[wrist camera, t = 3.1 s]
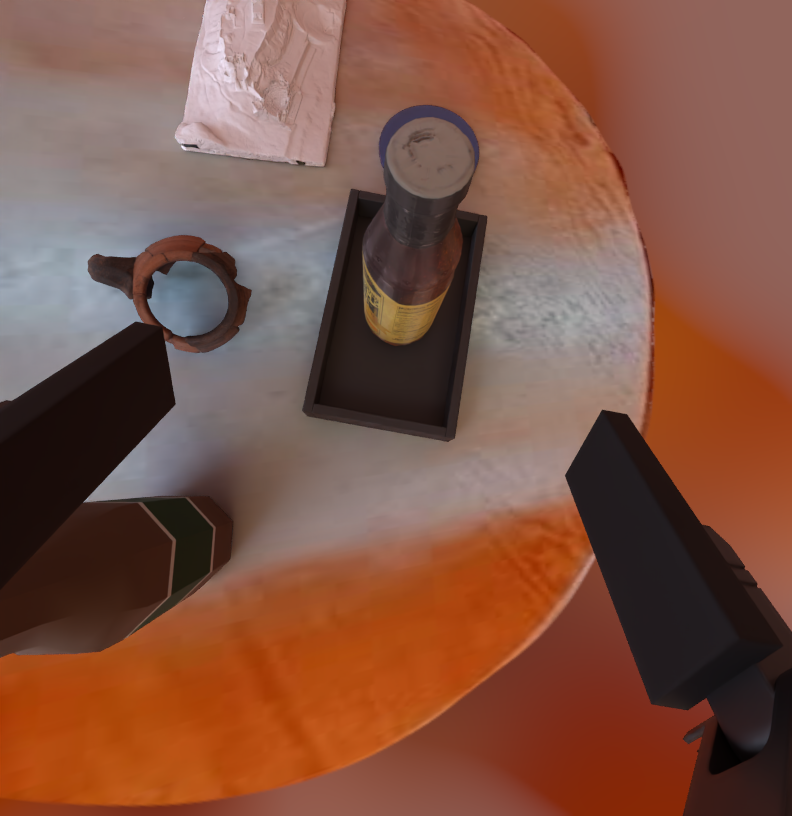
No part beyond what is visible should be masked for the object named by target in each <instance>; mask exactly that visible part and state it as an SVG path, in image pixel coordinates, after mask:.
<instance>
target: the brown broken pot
mask: <svg viewBox="0 0 792 816" xmlns="http://www.w3.org/2000/svg"><path fill="white" fill-rule="evenodd" d="M176 261H190V262H196V263H199V264H202V265H204V266H206V267H207V268H209V269H210V270H212V271H213V272H214V273H215V274H216V275H217V276H218V277H219V278H220V280H221V281H222V283H223V284H224V286H225V288H226V291H227V294H228V310H227V313H226V315H225V317H224V319H223V320H222V322H221V323H220V324H219V325H218V326H217V327H216V328H215V329H213V330H212V331H210V332H208V333H205V334H202V335H197V336H187V337H181V336H178V335H175V334H173V333H172V331H171V330H169V329H167V328H166V327H164V326H163V325H162V324H161V323H160V322H159V321H158V320H157V319H156V318H155V317H154V315H153V314H152V312H151V310H150V308H149V305H148V302H147V299H150V298H151V297H152V289H153V286H154V281H153V278H152V275H153V274H154V272H155V271H159V272H161V273H163V274H165V275H167V273H168V272H169V270H170V268H171V267H172V266H173V264H174V263H175V262H176ZM88 272H89V274H90V275H91V277H92V279H93V280H95V281H97V282H100V283H103V284H106V285H109V286H112V287H115V288H118V289H120V290H121V291H123V292H124V293H125V294H126V296H127V297H128V298H129V299H134V300H133V302H134V305H135V307H136V309H137V312H138V314H139V316H140V318H141V320H142V321H143V322H144V323H146V324H151V325H156V326H162V327H163V333H164V339H165V341H167V342H169V343H172V344H173V345H174V347H175V348H176V349H178V350H182V351H186V352H194V353H200V352H202V353H204V352H209V351H211V350H214V349H216V348H218V347H220V346H221V345H223V344H225V343H226V342H228V341H229V340H230V339H232V338H233V337H234V336H235V335H236V334H237V333H238V332H239V327H238V326H239V325H241V324H243V322H244V320H245V316H246V311H247V305H248V302H249V298H250V297H251V292H252V290H250V289H248V288H246V287H244V286H241V285H239V284H237V283H236V282H235V281H234V279H235V278H236V276H237V269H236V267H235V259H234V258H233V257H232V256H230V255H229V254H228V253H227V252H222V250H221V249H219V248H217V247H215V246H213V245H210V244H207V243H205V241H204V240H203V239H202V238H200V237H195V236H189V235H179V236H173V237H169V238H165V239H162V240H160V241H158V242H155V243H153V244H152V245H150V246H149V247H148V248H146V249H145V252H142V253H141V254H140V255H138V256H137V257H131V258H125V257H112V256H110V257H105V256H102V255H100V254H96V255H93V256H92V257H91V258H90V259H89V260H88Z"/></svg>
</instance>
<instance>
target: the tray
mask: <svg viewBox="0 0 792 816" xmlns="http://www.w3.org/2000/svg"><path fill="white" fill-rule="evenodd" d="M385 200H386V196H385V195H380V194H375V193H370V192H365V191H359V190H355V189H351V191H350V195H349V200H348V204H347V209H346V213H345V218H344V223H343V227H342V232H341V236H340V241H339V245H338V250H337V255H336V259H335V264H334V268H333V273H332V277H331V282H330V286H329V291H328V296H327V300H326V305H325V309H324V314H323V318H322V323H321V328H320V332H319V337H318V341H317V346H316V350H315V355H314V359H313V364H312V369H311V373H310V378H309V382H308V387H307V391H306V396H305V401H304V405H303V410H302V411H303V412H304V413H305V414H306V415H307V416H309V417H315V418H320V419H326V420H331V421H337V422H342V423H348V424H353V425H359V426H364V427H370V428H375V429H381V430H386V431H392V432H397V433H403V434H408V435H414V436H419V437H425V438H431V439H436V440H442V441H447V442H449V441H450V440H452V439H455V433H456V427H457V420H458V413H459V406H460V400H461V393H462V386H463V379H464V373H465V366H466V359H467V352H468V346H469V339H470V332H471V325H472V318H473V312H474V305H475V298H476V291H477V285H478V278H479V271H480V264H481V258H482V251H483V244H484V237H485V231H486V224H487V216H484V215H479V214H474V213H469V212H464V211H459V210H457V211H456V218H457V220H458V223H459V226H460V228H461V233H462V238H463V243H462V250H461V256H460V260H459V263H458V264H457V267H456V268H455V272H454V276H453V279H452V281H451V284H450V286H449V288H448V290H447V292H446V295H445V297H444V299H443V301H442V303H441V305H440V308H439V310H438V312H437V314H436V316H435V318H434V320H433V323H432V325H431V326H430V328H429V330H428V331H427V332H426V333H425V334H424V336H423V337H422V338H421V339H419V340H418V341H415V342H412V343H410V344H406V345H398V346H394V345H391V344H389V343H387V342H385V341H383V340H381V339H380V338H378V337H377V336H376V335H375V334H373V332H372V331H371V329H370V326H369V325H368V323H367V320H366V317H365V312H364V284H363V238H364V235H365V232H366V230H367V228H368V226H369V225H370V223H371V222H372V220H373V219H374V217H375V216H376V214H377V213H378V211H379V210H380V208H381V207H382V205H383V204H384V202H385Z"/></svg>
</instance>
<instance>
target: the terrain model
mask: <svg viewBox="0 0 792 816" xmlns="http://www.w3.org/2000/svg"><path fill="white" fill-rule="evenodd" d="M345 8H346V0H207V1H206V5H205V9H204V15H202V17H203V22H202V26H201V28H200V31H199V32H198V33H199V37H198V41H197V44H196V48H195V54H194V60H193V65H192V70H191V78H190V84H189V90H188V98H187V103H186V106H185V114H184V120H183V122H182V123H180V125H179V126H178V127H177V129H176V133H175V137H174V138H176V139H177V142H178V143H180V144H182V146H181V148H183V149H184V151H185V150H188V151H189V150H190V151H194V152H201V153H203V152H204V153H211V154H218V155H226V156H233V157H243V158H247V159H248V158H250V159H259V160H271V161H274V162H276V161H277V162H279V161H282V162H286V163H287V162H289V163H290V164H295V165H296V164H297V165H300V164H298V163H297V162H296V160H297V161H298V160H299V161H302V162H305V163H306V164H305V165H307V166H308V165H309V166H320V167H324V165H325V163H326V158H327V151H328V147H329V140H330V139H331V138H330V131H331V133H332V130H331V124H332V118H334V117H333V116H334V111H335V103H334V97H335V95H334V93H335V86H336V79H337V71H338V62H339V55H340V54H339V53H340V44H341V37H342V30H343V22H344V15H345ZM346 11H347V10H346ZM347 12H348V11H347ZM286 102H287V104H286ZM329 138H330V139H329ZM183 143H184V144H196V145H197V146H198V147H199V148H200V149H197V148H194V147H188V148H187V147H184V146H183Z"/></svg>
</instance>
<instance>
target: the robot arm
mask: <svg viewBox="0 0 792 816" xmlns="http://www.w3.org/2000/svg"><path fill="white" fill-rule="evenodd" d="M175 404H176V403H175V397H174V391H173V386H172V380H171V374H170V368H169V362H168V356H167V351H166V345H165V339H164V333H163V327H162V326H156V325H151V324H146V323H141V322H134V323H133V324H131V325H130V326H128V327H127V328H125V329H123V330H122V331H120V332H119V333H117V334H116V335H114V336H113V337H111V338H109V339H108V340H106V341H105V342H103V343H102V344H100V345H99V346H97V347H95V348H94V349H92V350H91V351H89V352H88V353H86V354H84V355H83V356H81V357H80V358H78V359H77V360H75V361H74V362H72V363H70V364H69V365H67V366H66V367H64V368H63V369H61V370H60V371H58V372H56V373H55V374H53V375H52V376H50V377H49V378H47V379H45V380H44V381H42V382H41V383H39V384H38V385H36V386H35V387H33V388H31V389H30V390H28V391H27V392H25V393H24V394H22V395H21V396H19V397H17V398H16V399H14V400H13V401H8V400H6V401H3V402H1V403H0V590H1V589H2V588H3V587H4V586H5V584H6V583H7V582H8V581H9V580H10V579H11V578H12V577H13V576H14V575H15V574H16V573H17V572H18V571H19V570H20V569H21V568H22V566H23V565H24V564H25V563H26V562H27V561H28V560H29V559H30V558H31V557H32V556H33V555H34V554H35V553H36V552H37V551H38V550H39V548H40V547H41V546H42V545H43V544H44V543H45V542H46V541H47V540H48V539H49V538H50V537H51V536H52V535H53V534H54V533H55V532H56V530H57V529H58V528H59V527H60V526H61V525H62V524H63V523H64V522H65V521H66V520H67V519H68V518H69V517H70V516H71V515H72V514H73V512H74V511H75V510H76V509H77V508H78V507H79V506H80V505H81V504H82V503H83V502H84V501H85V500H86V499H87V498H88V497H89V496H90V494H91V493H92V492H93V491H94V490H95V489H96V488H97V487H98V486H99V485H100V484H101V483H102V482H103V481H104V480H105V479H106V478H107V476H108V475H109V474H110V473H111V472H112V471H113V470H114V469H115V468H116V467H117V466H118V465H119V464H120V463H121V462H122V461H123V460H124V458H125V457H126V456H127V455H128V454H129V453H130V452H131V451H132V450H133V449H134V448H135V447H136V446H137V445H138V444H139V443H140V441H141V440H142V439H143V438H144V437H145V436H146V435H147V434H148V433H149V432H150V431H151V430H152V429H153V428H154V427H155V426H156V425H157V423H158V422H159V421H160V420H161V419H162V418H163V417H164V416H165V415H166V414H167V413H168V412H169V411H170V410H171V409H172V408H173V407H174V405H175ZM565 477H566V479H567V482H568V485H569V487H570V490H571V493H572V495H573V498H574V501H575V503H576V506H577V509H578V511H579V514H580V517H581V519H582V522H583V524H584V527H585V530H586V532H587V535H588V538H589V540H590V543H591V546H592V548H593V551H594V554H595V556H596V559H597V562H598V564H599V567H600V569H601V572H602V575H603V577H604V580H605V583H606V585H607V588H608V590H609V593H610V596H611V599H612V601H613V604H614V606H615V609H616V612H617V614H618V617H619V620H620V622H621V625H622V627H623V630H624V633H625V636H626V638H627V641H628V644H629V646H630V649H631V652H632V654H633V657H634V659H635V662H636V665H637V667H638V670H639V673H640V675H641V678H642V680H643V683H644V685H645V688H646V691H647V694H648V696H649V699H650V701H651V704H653V705H659V706H665V707H671V708H677V709H683V710H689V709H690V708H692V707H693V706H695V705H696V704H698V703H699V702H701V701H702V700H704V699H705V698H707V700H708V702H709V704H710V706H711V708H712V710H713V712H714V716H712V717H711V718H709V719H707V720H706V721H704V722H703V723H701V724H699V725H698V726H696V727H695V728H693V729H691V730H690V731H688V732H687V734H686V735H685V736H684V738H683V740H684V741H686V742H687V743H688V744H689V743H691V742H693V741H695V740H696V739H698V738H700V737H702V740H701V744H700V748H699V750H698V751H697V752H698V756H697V760H696V764H695V768H694V772H693V776H692V780H691V784H690V788H689V793H688V797H687V801H686V805H685V809H684V813H683V816H792V632H791V630H790V629H789V628H788V626H787V625H786V623H785V622H784V620H783V619H782V618H781V616H780V615H779V613H778V612H777V611H776V609H775V608H774V606H773V605H772V604H771V602H770V601H769V599H768V598H767V596H766V595H765V594H764V592H763V591H762V590H761V588H758V587H757V582H756V581H755V580H754V578H753V577H752V575H751V574H750V573H749V571H747V570H745V569H744V568H745V566H744V564H743V563H742V561H741V560H740V559H739V557H738V556H737V554H736V553H735V552H734V550H733V549H732V547H731V546H730V545H729V544H728V543H727V542H726V541H725V540H724V539H723V538H722V537H720V536H719V535H718V534H717V533H716V532H715V531H714V530H713V529H712V528H711V527H710V526H706V525H702V524H701V523H700V521H699V520H698V519H697V517H696V516H695V514H694V513H693V511H692V510H691V509H690V507H689V505H688V504H687V503H686V501H685V499H684V498H683V496H682V495H681V493H680V492H679V490H678V489H677V488H676V486H675V485H674V483H673V482H672V480H671V479H670V477H669V476H668V474H667V473H666V471H665V470H664V468H663V467H662V465H661V464H660V462H659V461H658V459H657V458H656V457H655V455H654V454H653V452H652V451H651V449H650V448H649V446H648V445H647V443H646V442H645V440H644V439H643V437H642V436H641V434H640V433H639V431H638V430H637V428H636V427H635V425H634V424H633V423H632V421H631V420H630V418H629V417H628V415H627V414H622V413H617V412H612V411H606V410H602V411H601V413H600V415H599V416H598V418H597V420H596V422H595V423H594V425H593V427H592V429H591V430H590V432H589V434H588V436H587V438H586V439H585V441H584V443H583V445H582V446H581V448H580V450H579V452H578V453H577V455H576V457H575V459H574V460H573V462H572V464H571V466H570V468H569V469H568V471H567V473H566V475H565Z"/></svg>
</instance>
